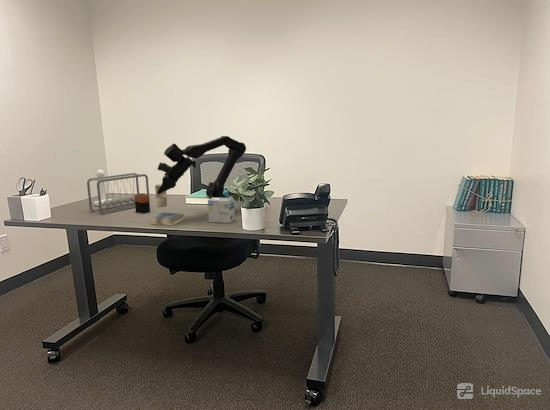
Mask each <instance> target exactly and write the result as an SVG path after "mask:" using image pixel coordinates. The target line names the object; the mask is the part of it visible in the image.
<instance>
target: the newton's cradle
mask: <svg viewBox="0 0 550 410" xmlns="http://www.w3.org/2000/svg"><path fill="white" fill-rule="evenodd" d="M141 177H144V178H145V185H146V195H149V196H150V190H149V189H150V188H149V177H148V175H147V174H146V173H145V174H144V173H141V174H139V173H136V172H133V173H132V172H131V173H123V174H116V175H109V176H104V177H98V176H97V177H92V178H89V179H88V180H87V181H86V186H87V187H86V189H87V194H88V196H87V197H88V206H89V210H90V212H92V213H95V212H96V213H99V214H102V215H107V214H112V213H117V212H121V211H122V212H123V211H125V210H126V211H127V210H130V209H136V208H135V194H134V193H135V191H134V190H135V188H134V187H135V186H134V185H136V193H137V194H138V193H140V189H139V178H141ZM134 178H135V180H134ZM100 179H103V180H100ZM131 179H132V180H133V181H132V182H133V185H132V186H131V184H129V186H130V187H133V189H132V188H130V189H131V191H132V192H131V193H132V195H130V197H129V196H128V195H127V192H125V193H124V194H125V196H124V197H122V193H120V191H119V189H118V190H117V191H118V193H119V194H118V195H119V197H118V198H115V197H112V198H111V199H112V200H111V201H110V200H108V199H109V197H108V196H109V195H108V193H109V191H108V190H109V184H110V186H112V185H111V181H113V182H114V183H113V185H115V181H116V183H118V181H119V180H120V181H121V180H129V182H131V181H130V180H131ZM91 181H97V182H96V190H97V191H96V193H97V198H98V200H97V201H99V205H98V208H97V209H96V208H95V209H93V203H92V195H91V187H90V186H91V185H90V182H91ZM134 181H135V182H136V183H135V182H134ZM100 182H104V183H103V184H104V185H105V183H106V182H109V183H107V189H106V188H104V189H105V190H107V193H106V192H105V194H106V199H107V200H105V201H104V205H103V206H104V207H102V205H101V197H100V187H99V183H100ZM122 183H123V185H125V184H124V181H122ZM134 183H135V184H134ZM116 186H117V188H119V187H118V186H119V185H118V184H116ZM123 188H124V190H126V189H125V188H126V187H123ZM110 190H111V191H113V190H112V187H110ZM111 193H112V195H111V196H114V192H111ZM137 194H136V195H137ZM150 202H151V200H150V198H149V203H150ZM131 205H133V206H131ZM126 206H127V207H126ZM122 207H123V208H122ZM117 208H118V209H117ZM112 209H113V210H112ZM106 210H108V211H106Z"/></svg>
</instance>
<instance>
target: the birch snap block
mask: <svg viewBox="0 0 550 410" xmlns="http://www.w3.org/2000/svg"><path fill="white" fill-rule="evenodd" d="M161 185H162V183H160V184H155V186H154V192H155V200H156V201H155V202H156V208H168V198H167V197H168V196H167V190H166V191H164V192H162V193H160V194H158V193H157V191H158V190H159V188H160V187H161Z"/></svg>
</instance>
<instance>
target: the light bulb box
mask: <svg viewBox="0 0 550 410" xmlns="http://www.w3.org/2000/svg"><path fill="white" fill-rule="evenodd" d="M233 198H234V197H227V198H214V197H213V198H211V199H209V198H208V199H207V207H208V208H207V211H208V222H209V223H222V224H225V223H226V224H227V223H228V224H230V223H232V222H233V221H234V220H236V219H235V201H234V199H233Z"/></svg>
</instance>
